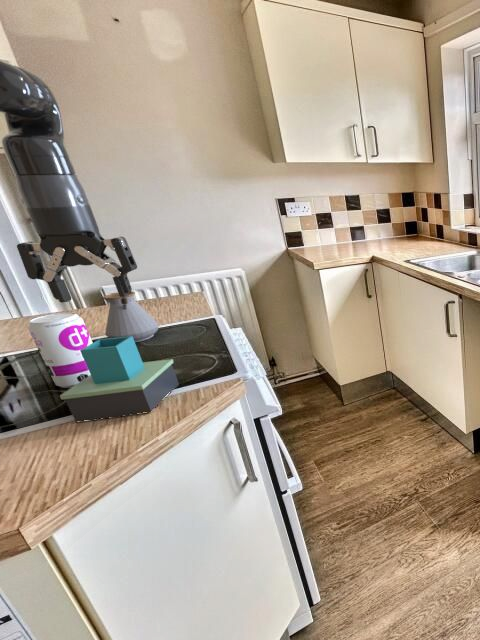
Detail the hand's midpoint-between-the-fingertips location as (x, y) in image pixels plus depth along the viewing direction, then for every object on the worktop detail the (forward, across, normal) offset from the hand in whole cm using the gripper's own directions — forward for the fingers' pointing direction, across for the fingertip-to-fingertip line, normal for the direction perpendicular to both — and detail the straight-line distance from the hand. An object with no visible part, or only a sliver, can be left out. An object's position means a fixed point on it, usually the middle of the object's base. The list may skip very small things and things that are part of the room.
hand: (96, 298), depth 76 cm
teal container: (+16, +2, -2) cm, 16 cm away
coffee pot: (+22, +15, -41) cm, 49 cm away
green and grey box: (+22, +2, -2) cm, 22 cm away
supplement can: (+22, +17, -18) cm, 33 cm away
